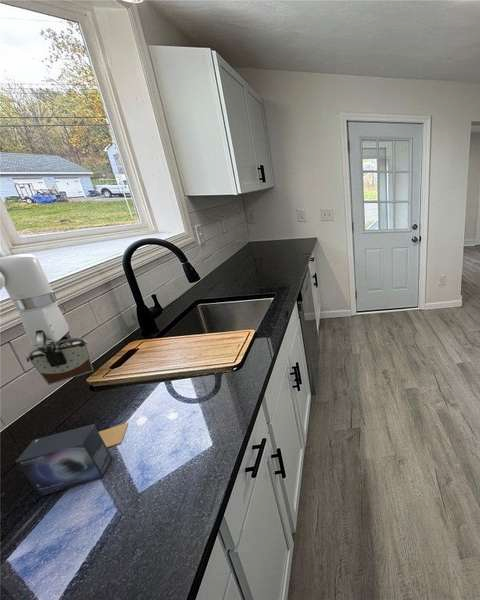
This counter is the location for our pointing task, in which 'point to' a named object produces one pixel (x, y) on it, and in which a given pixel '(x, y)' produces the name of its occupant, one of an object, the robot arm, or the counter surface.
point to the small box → (65, 459)
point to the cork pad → (113, 435)
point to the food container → (74, 356)
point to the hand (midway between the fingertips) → (64, 358)
